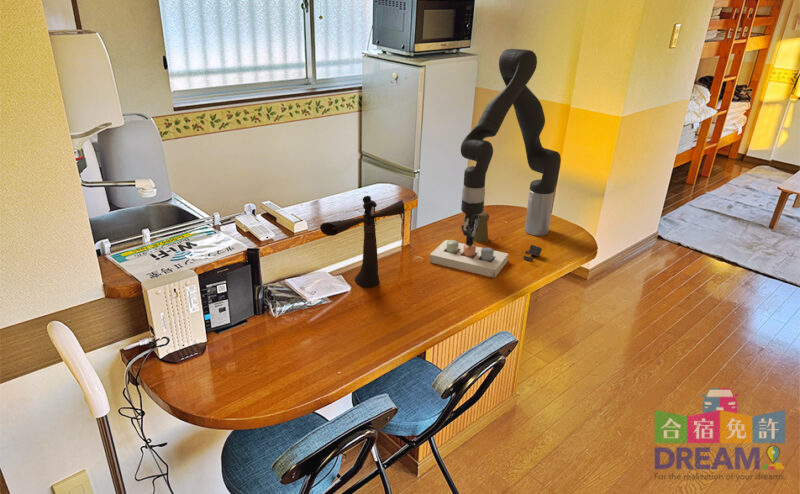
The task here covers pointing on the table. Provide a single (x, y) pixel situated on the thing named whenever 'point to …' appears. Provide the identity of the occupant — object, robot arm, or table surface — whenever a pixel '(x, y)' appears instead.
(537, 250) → the building blocks
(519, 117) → the robot arm
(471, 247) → the terracotta button
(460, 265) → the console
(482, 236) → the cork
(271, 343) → the table surface
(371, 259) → the outstretched arms figurine
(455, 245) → the pale green rounded piece
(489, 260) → the slate button
